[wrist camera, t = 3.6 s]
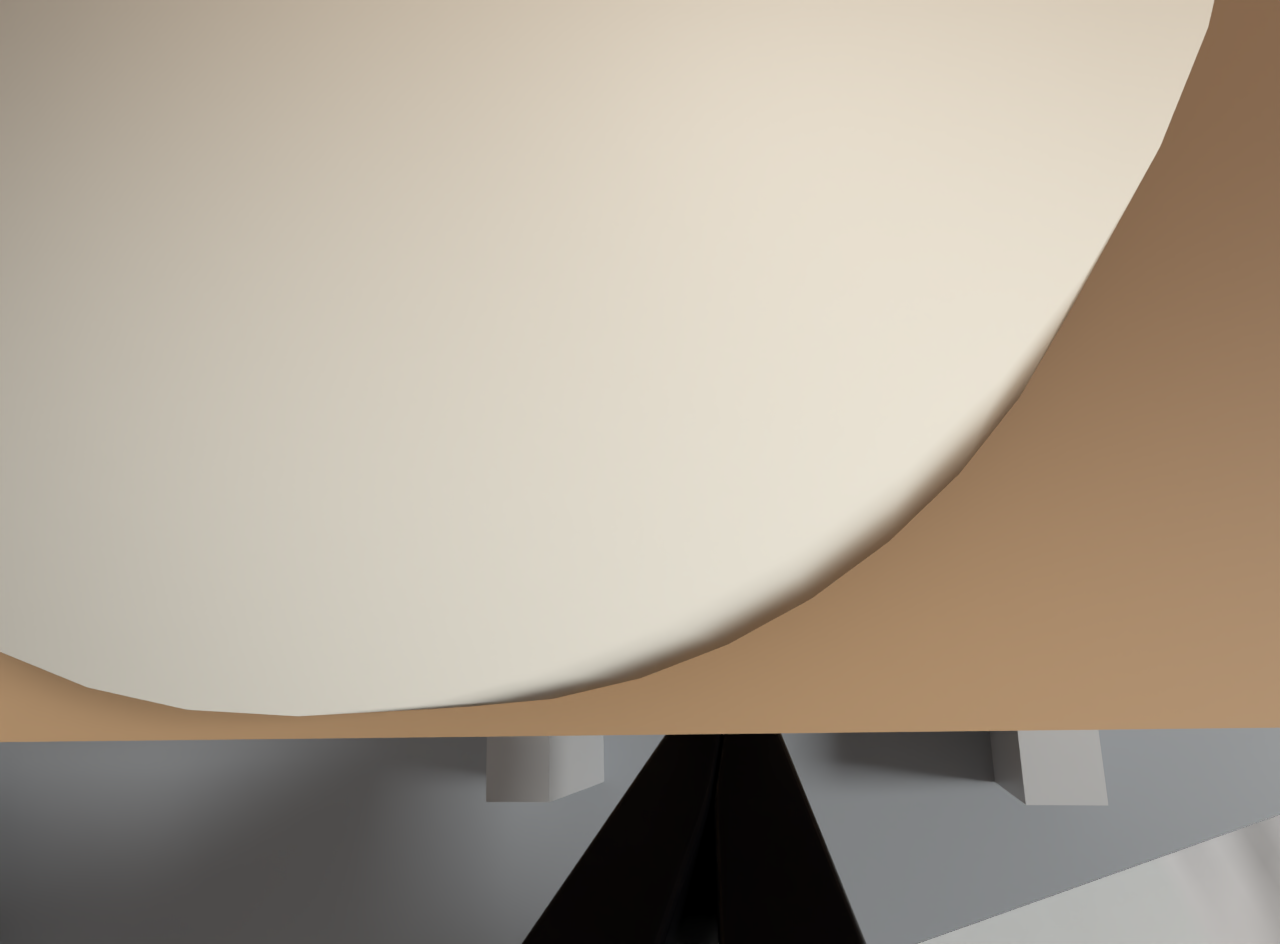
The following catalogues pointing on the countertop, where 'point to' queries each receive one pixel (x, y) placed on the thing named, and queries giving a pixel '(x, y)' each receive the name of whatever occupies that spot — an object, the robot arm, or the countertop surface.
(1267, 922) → the countertop surface
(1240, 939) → the countertop surface
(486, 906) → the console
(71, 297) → the plunger
